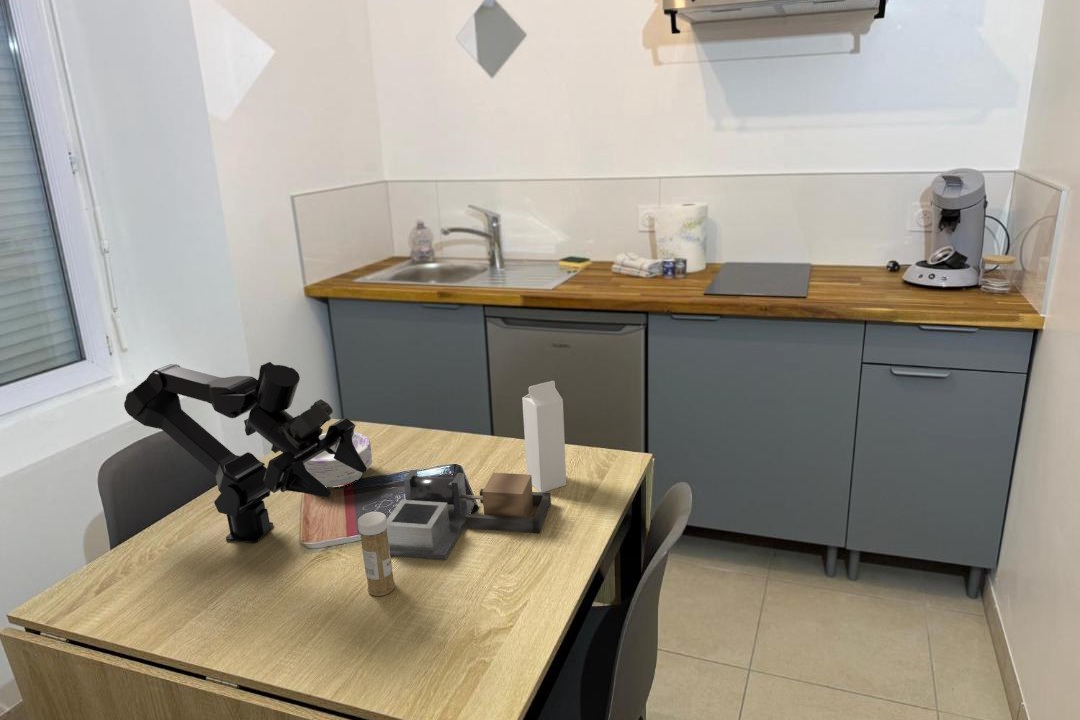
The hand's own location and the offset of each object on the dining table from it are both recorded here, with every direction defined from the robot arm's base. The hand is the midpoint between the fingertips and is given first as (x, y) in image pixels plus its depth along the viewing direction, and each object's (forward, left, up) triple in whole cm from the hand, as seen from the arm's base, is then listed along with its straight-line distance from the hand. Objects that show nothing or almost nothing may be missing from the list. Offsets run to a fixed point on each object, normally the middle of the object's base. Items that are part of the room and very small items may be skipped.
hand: (348, 482), depth 133 cm
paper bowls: (-18, +30, -16) cm, 38 cm away
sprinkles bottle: (+7, -6, -16) cm, 18 cm away
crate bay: (+22, +19, -16) cm, 33 cm away
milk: (+27, +33, -16) cm, 45 cm away
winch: (+10, +13, -16) cm, 23 cm away
